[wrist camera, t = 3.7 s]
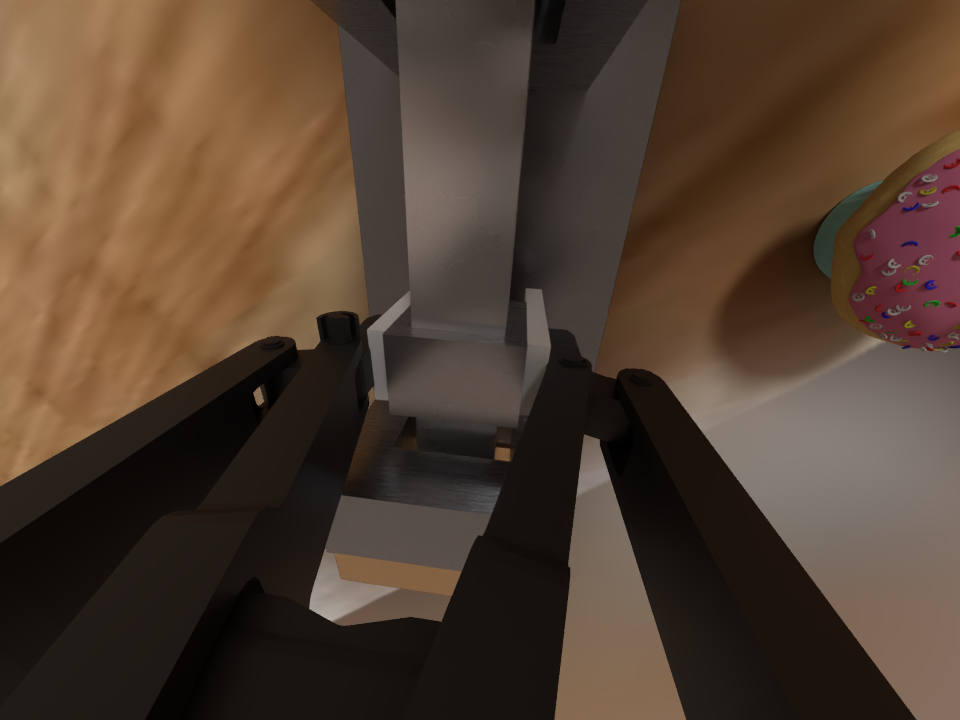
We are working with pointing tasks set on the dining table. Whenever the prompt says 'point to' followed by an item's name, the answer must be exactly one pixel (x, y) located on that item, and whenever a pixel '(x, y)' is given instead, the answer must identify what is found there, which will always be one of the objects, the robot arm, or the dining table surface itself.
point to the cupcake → (900, 252)
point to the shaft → (461, 220)
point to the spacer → (405, 565)
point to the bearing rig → (537, 248)
